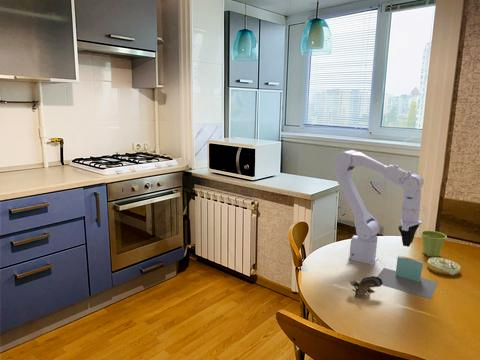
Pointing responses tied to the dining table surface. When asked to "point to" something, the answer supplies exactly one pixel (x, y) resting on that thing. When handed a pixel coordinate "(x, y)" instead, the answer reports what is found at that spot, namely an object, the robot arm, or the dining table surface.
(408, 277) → the tile
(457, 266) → the decorated donut
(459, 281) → the dining table surface
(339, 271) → the dining table surface
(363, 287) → the eagle figurine
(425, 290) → the mat
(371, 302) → the dining table surface
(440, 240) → the plant pot
